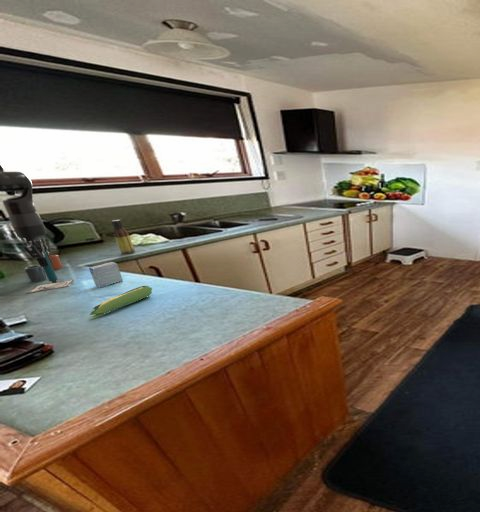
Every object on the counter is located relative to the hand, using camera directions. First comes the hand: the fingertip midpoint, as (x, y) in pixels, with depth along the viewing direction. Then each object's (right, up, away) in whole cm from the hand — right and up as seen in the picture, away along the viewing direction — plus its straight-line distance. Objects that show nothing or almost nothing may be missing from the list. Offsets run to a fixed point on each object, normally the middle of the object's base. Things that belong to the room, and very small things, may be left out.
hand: (46, 264), depth 113 cm
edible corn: (+45, -15, -13) cm, 49 cm away
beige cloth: (-2, -10, +4) cm, 11 cm away
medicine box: (+20, -9, +7) cm, 23 cm away
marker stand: (-16, -8, +10) cm, 20 cm away
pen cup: (-25, -3, +24) cm, 35 cm away
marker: (0, -8, +3) cm, 8 cm away
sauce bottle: (-12, +5, +49) cm, 51 cm away
